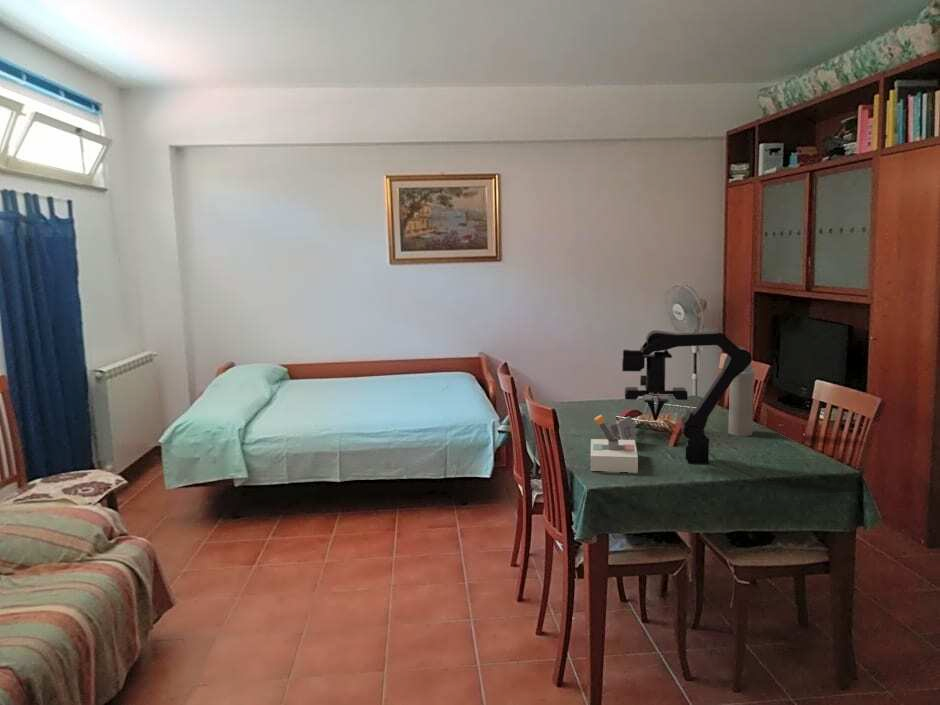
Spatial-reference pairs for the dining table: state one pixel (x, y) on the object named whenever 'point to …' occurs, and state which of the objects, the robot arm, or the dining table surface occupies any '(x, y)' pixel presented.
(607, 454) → the breaker housing
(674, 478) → the dining table surface
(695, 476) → the dining table surface
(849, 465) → the dining table surface
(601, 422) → the breaker lever
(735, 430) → the thermos bottle
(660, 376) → the robot arm
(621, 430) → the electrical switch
